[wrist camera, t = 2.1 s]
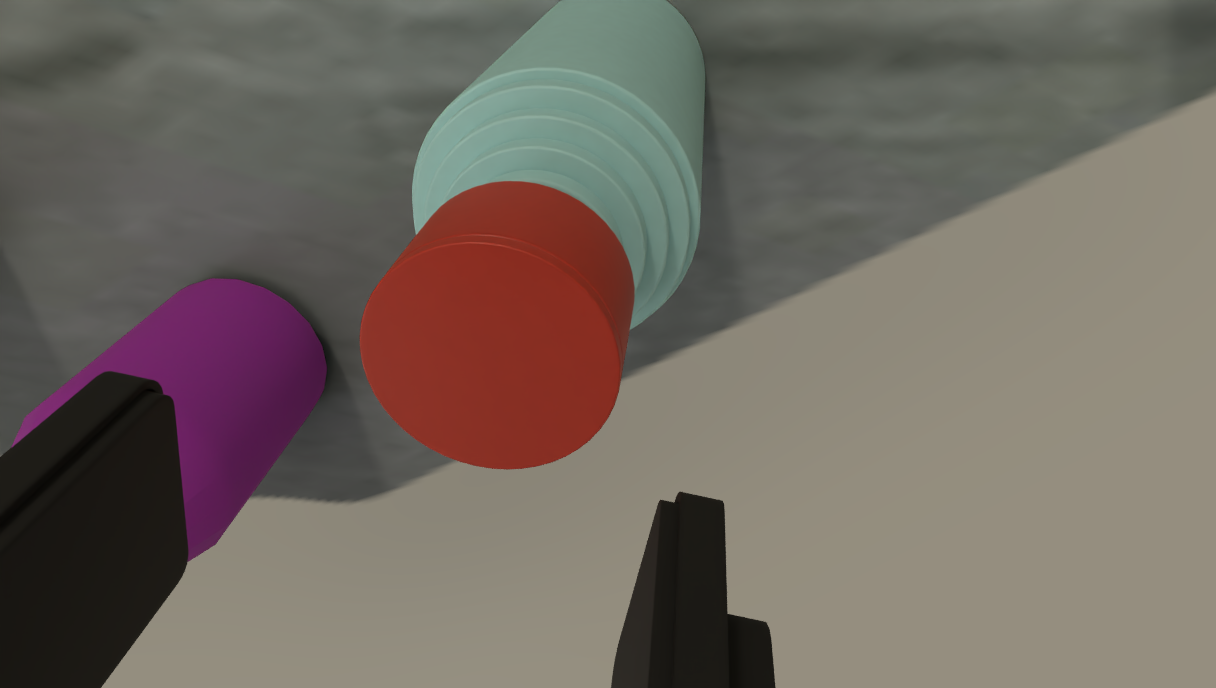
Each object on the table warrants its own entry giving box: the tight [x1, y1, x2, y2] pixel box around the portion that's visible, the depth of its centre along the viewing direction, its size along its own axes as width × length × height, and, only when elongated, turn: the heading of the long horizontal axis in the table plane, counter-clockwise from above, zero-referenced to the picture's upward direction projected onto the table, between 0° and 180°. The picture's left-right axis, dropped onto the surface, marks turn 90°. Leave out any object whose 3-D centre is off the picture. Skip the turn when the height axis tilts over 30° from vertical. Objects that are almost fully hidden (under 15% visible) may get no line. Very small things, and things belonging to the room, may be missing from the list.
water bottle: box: [412, 0, 705, 330], centre depth 22 cm, size 7×7×20 cm
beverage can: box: [11, 278, 327, 562], centre depth 33 cm, size 8×8×12 cm
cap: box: [360, 181, 635, 469], centre depth 15 cm, size 4×4×3 cm
